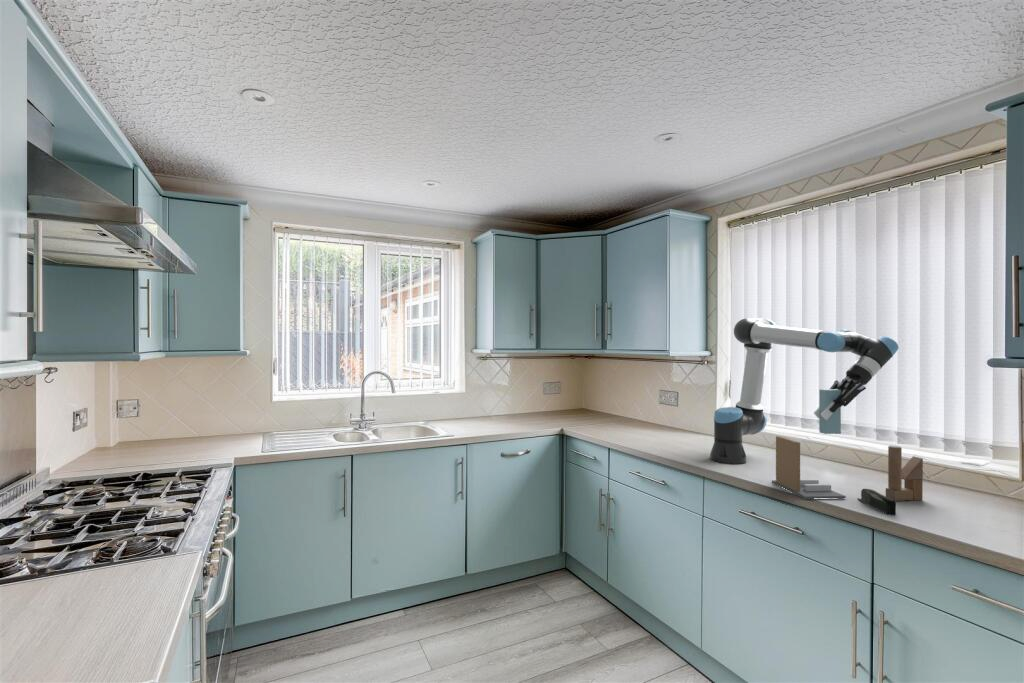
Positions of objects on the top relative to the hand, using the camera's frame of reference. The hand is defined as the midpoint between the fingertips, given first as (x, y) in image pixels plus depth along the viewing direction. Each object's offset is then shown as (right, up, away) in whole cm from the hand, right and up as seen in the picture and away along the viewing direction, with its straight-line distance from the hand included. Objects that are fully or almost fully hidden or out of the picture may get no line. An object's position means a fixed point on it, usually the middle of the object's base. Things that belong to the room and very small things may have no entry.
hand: (819, 416), depth 182 cm
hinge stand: (-8, -26, -5) cm, 27 cm away
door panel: (+4, -6, 0) cm, 7 cm away
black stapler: (+4, -26, -23) cm, 35 cm away
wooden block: (+19, -26, -15) cm, 36 cm away
